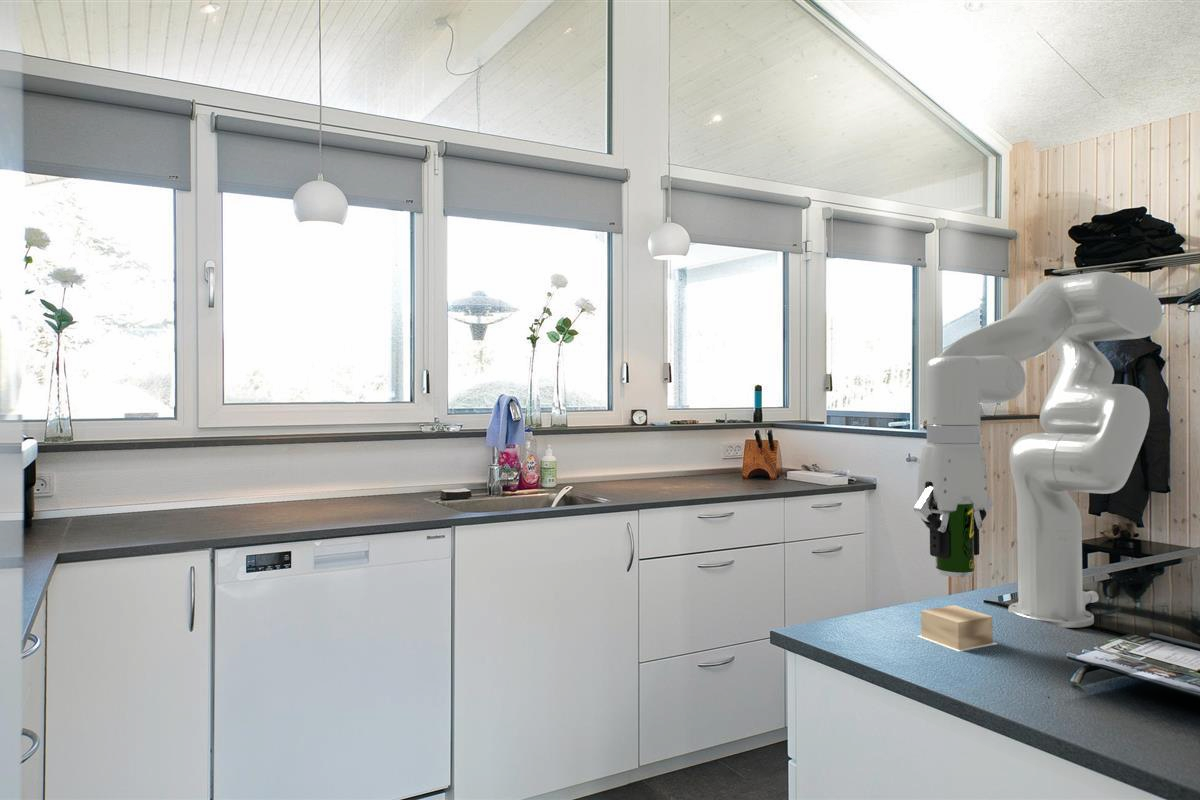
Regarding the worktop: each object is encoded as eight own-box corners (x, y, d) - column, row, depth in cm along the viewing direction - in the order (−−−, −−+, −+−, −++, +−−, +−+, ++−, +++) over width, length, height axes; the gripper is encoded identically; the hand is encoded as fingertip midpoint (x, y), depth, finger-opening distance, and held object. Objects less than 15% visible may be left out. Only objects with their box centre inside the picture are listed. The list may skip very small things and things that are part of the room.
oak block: (954, 630, 122) (954, 605, 122) (992, 643, 115) (992, 616, 115) (921, 636, 119) (921, 610, 119) (958, 649, 112) (958, 622, 112)
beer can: (938, 576, 115) (937, 496, 115) (933, 568, 120) (933, 492, 120) (977, 578, 113) (976, 497, 113) (971, 570, 119) (970, 493, 119)
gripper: (973, 434, 124) (975, 546, 124) (891, 437, 117) (893, 555, 117) (1015, 436, 117) (1016, 554, 117) (930, 439, 110) (931, 565, 110)
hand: (954, 554), depth 117 cm, fingers closed on beer can, 5 cm apart
